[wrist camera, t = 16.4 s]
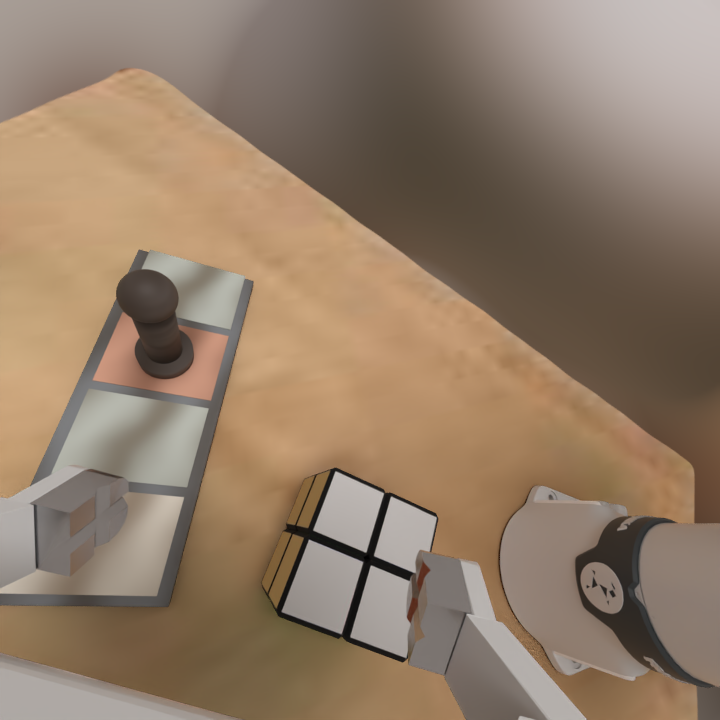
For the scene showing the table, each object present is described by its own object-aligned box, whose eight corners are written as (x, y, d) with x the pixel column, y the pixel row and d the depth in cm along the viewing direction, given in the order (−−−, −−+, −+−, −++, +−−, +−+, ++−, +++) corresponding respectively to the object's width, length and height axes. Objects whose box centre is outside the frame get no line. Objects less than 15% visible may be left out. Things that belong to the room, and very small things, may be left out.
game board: (253, 284, 41) (254, 278, 40) (169, 603, 28) (167, 607, 27) (141, 253, 38) (139, 246, 37) (-16, 601, 24) (-26, 605, 23)
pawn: (200, 341, 35) (193, 265, 25) (184, 384, 33) (170, 320, 23) (149, 328, 34) (118, 242, 23) (129, 372, 32) (86, 299, 21)
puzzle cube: (389, 513, 37) (441, 514, 28) (358, 623, 32) (409, 666, 23) (305, 475, 35) (333, 465, 27) (258, 586, 30) (274, 617, 22)
